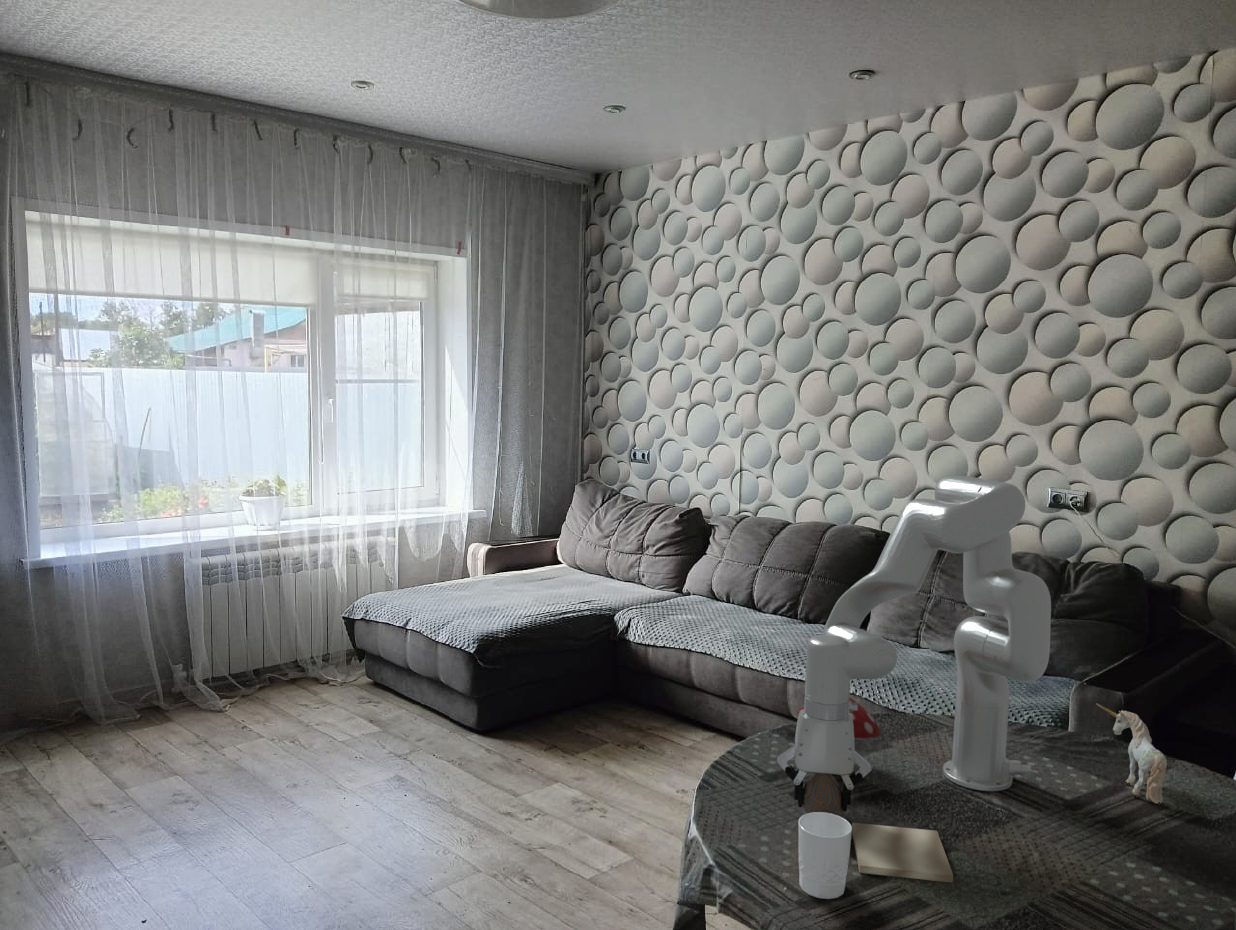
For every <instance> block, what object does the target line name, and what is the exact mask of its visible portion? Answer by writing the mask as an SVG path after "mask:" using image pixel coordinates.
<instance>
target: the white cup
mask: <svg viewBox="0 0 1236 930" xmlns="http://www.w3.org/2000/svg"><path fill="white" fill-rule="evenodd" d="M797 822H798V831H797V833H798V834H797V835H798V839H797V840H798V841H797V842H798V844H797V845H798V847H797V848H798V850H797V851H798V869H799V873H798V874H799V876H798V877H799V878H798V881H799V882H798V883H799V886H800V888H801V890H802V891H803V892H805V893H806V894H807V895H809V896H811V897H813V898H817V899H825V900H832V899H837V898H839V897H841V896H842V895H843V894H845V893H844V892H845V890H846V880H847V879H846V878H847V875H848V869H849V868H848V867H849V860H850V854H851V853H850V851H851V841H852V823H850V822H849V821H848V820H847V819H845V818H844V817H842V816H840V815H838V816H837V815H834V814H830V813H824V812H813V813H808V814H806V813H804V814H802V815H801V816H800V817H799V819H798V820H797Z"/></svg>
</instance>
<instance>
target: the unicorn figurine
mask: <svg viewBox="0 0 1236 930" xmlns="http://www.w3.org/2000/svg"><path fill="white" fill-rule="evenodd" d="M1095 705H1096V706H1097V707H1098V708H1100V709H1102V710H1103V711H1105V712H1106V713H1108V714H1109V715H1111V716H1112V717H1114V718H1116V719H1115V723H1114V724H1113V728H1112V732H1113V733H1114V735H1116V736H1118V735H1119V736H1121V735H1122V732H1123V731H1124V730H1125V729H1127V728H1130V730H1131V733H1132V739H1131V741H1130V743H1129V745H1128V749H1127V751H1128V756H1129V762H1130V763H1129V772H1130V773H1129V775H1128V778H1127V779H1126V780H1125V782H1127V783H1130V784H1129V785H1130V786H1131V785H1134V786H1133V789H1132V791H1131V793H1132V794H1134V795H1139V796H1140V792H1141V790H1142V785H1143V784H1144V782H1147V785H1146V795H1145V798H1146V800H1147V801H1148V800H1149V799H1150V800H1151V801H1152V803H1153V802H1154V803H1153V804H1158V803H1159V802H1160V803H1161V802H1163V795H1162V790H1163V787H1164V786H1163V782H1164V780H1165V777H1166V771H1167V765H1168V760H1167V758H1166V756H1165V755H1164V754H1163V752H1162V751H1160V750H1159V749H1156V748H1155V746H1154V745H1153V744H1152V742H1153V740H1152V737H1151V736H1150V730H1149V729H1148V726H1147V724H1146V723H1144V721H1143V720H1142V719H1141V718H1140V716H1139V715H1138V714H1137V713H1134V712H1130V711H1127V710H1122V709H1121V711H1120V710H1119V711H1118V712H1119V713H1118V714H1117V713H1116V712H1114V711H1112V710H1110V709H1109V708H1107V707H1105V706H1102V705H1101V704H1099V703H1095ZM1136 764H1138V780H1137V782H1136V779H1137V778H1136V775H1135V771H1136V768H1137V766H1136ZM1149 772H1150V773H1149ZM1132 794H1131V795H1132ZM1161 804H1162V803H1161Z"/></svg>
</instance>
